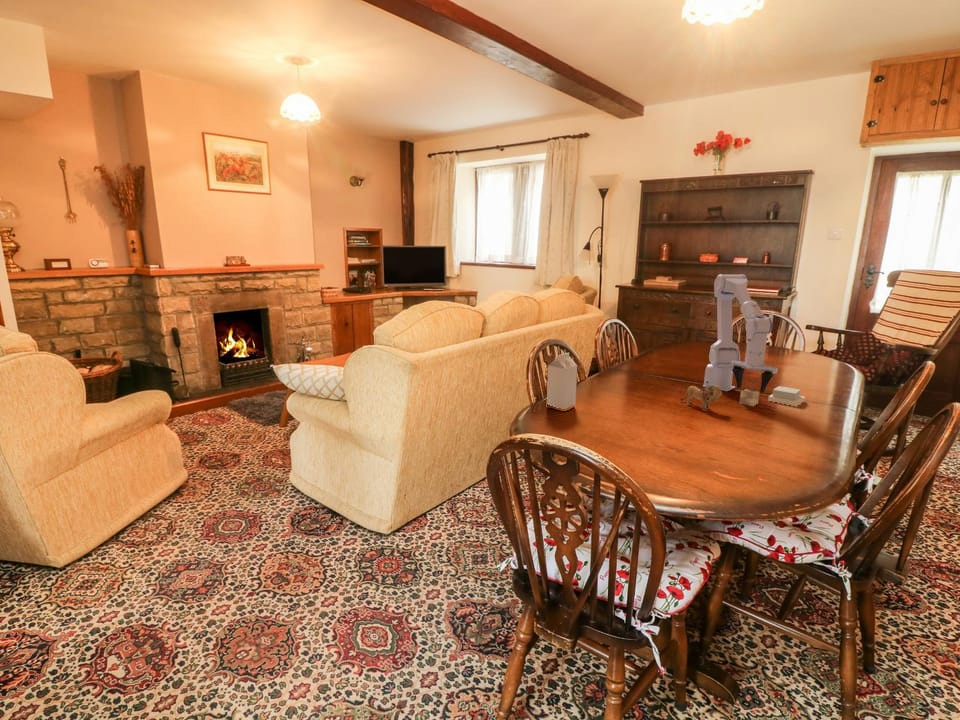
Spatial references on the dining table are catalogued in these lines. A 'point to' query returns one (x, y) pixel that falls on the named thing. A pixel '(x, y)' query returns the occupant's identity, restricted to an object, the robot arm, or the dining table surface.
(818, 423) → the dining table surface
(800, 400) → the bottom slab
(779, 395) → the top slab
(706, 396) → the lion figurine
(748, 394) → the birch block
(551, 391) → the milk carton
